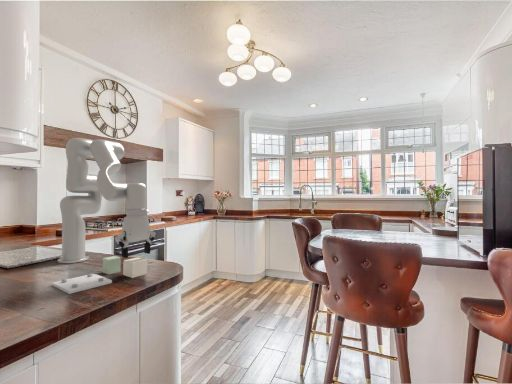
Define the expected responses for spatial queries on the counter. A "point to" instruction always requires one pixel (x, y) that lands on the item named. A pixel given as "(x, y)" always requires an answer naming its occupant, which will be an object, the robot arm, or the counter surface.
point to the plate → (81, 283)
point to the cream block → (135, 267)
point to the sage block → (111, 265)
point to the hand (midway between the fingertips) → (136, 255)
